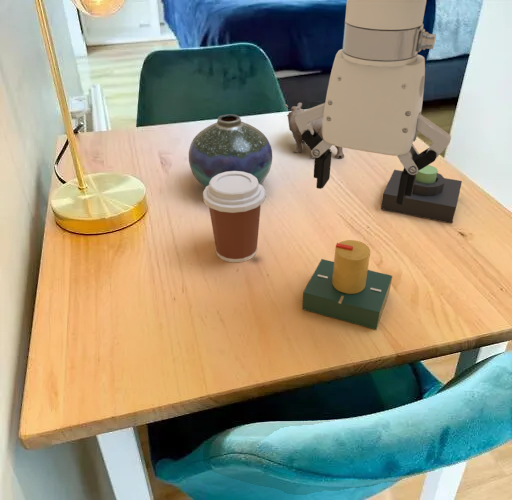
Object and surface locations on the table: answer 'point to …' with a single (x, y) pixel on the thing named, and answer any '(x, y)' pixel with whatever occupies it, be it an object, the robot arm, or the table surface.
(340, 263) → the knob
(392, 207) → the button base
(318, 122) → the rhinoceros figurine
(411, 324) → the table surface
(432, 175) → the green short cylinder
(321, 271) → the panel
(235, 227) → the coffee cup
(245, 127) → the vase
